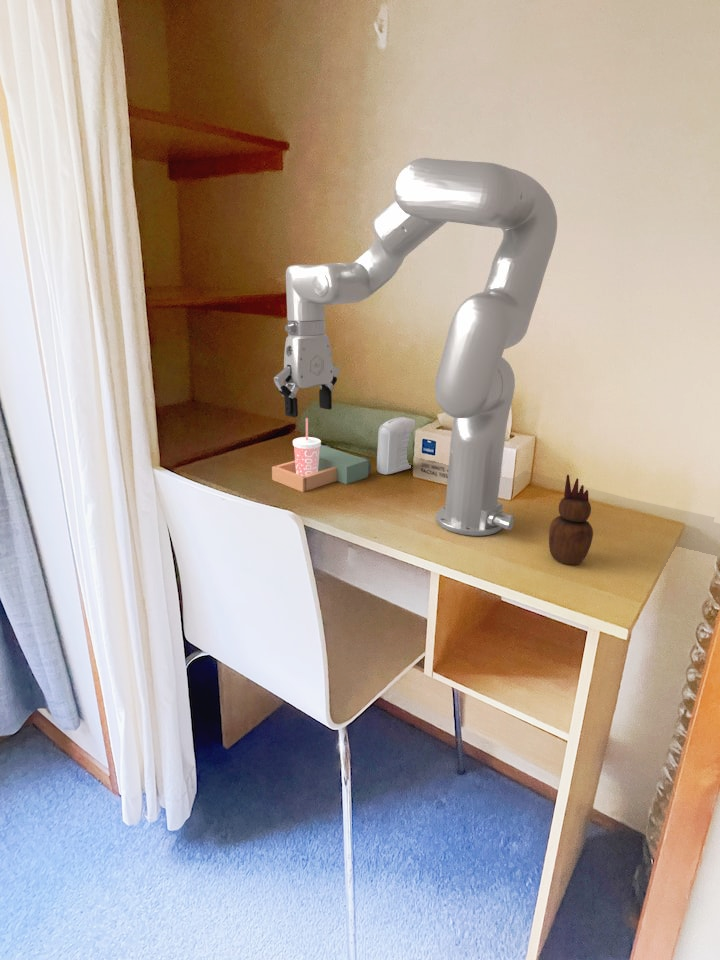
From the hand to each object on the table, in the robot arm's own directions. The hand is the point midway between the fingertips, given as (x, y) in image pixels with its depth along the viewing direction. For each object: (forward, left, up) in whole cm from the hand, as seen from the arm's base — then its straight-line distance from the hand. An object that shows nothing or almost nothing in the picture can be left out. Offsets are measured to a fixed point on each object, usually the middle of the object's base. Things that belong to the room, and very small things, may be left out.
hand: (309, 412), depth 131 cm
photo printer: (-8, -20, -16) cm, 27 cm away
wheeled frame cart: (+1, -3, -15) cm, 16 cm away
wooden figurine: (-57, -6, -16) cm, 60 cm away
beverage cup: (+1, 0, -16) cm, 16 cm away
